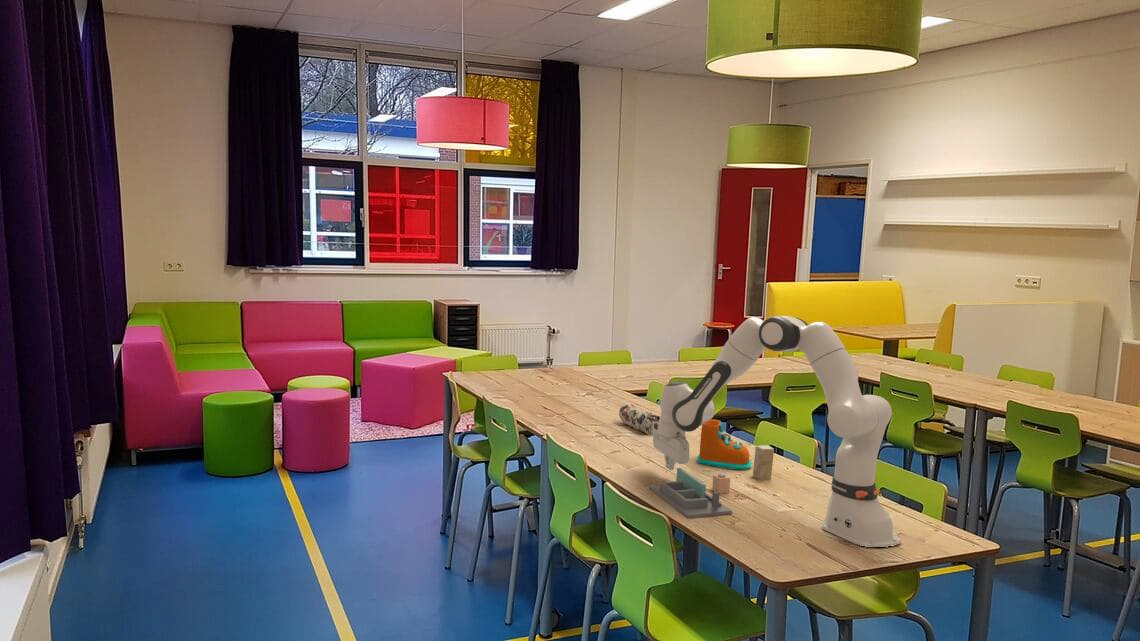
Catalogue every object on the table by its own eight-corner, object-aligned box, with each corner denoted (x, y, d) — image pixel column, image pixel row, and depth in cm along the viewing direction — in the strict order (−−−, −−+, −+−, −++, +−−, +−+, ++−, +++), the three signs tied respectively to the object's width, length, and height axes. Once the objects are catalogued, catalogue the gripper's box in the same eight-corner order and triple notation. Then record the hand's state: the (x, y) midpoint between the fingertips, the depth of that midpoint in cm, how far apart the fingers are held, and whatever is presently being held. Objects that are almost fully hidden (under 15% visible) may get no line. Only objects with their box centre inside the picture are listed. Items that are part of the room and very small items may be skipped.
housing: (731, 514, 236) (733, 495, 235) (687, 518, 230) (689, 499, 230) (690, 485, 260) (691, 468, 259) (649, 488, 255) (650, 471, 254)
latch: (705, 498, 244) (706, 484, 243) (701, 498, 244) (702, 485, 243) (679, 480, 260) (680, 467, 259) (676, 480, 259) (677, 468, 259)
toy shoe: (749, 472, 277) (752, 431, 275) (694, 464, 283) (697, 424, 281) (753, 463, 288) (756, 424, 286) (700, 455, 295) (703, 417, 293)
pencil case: (660, 434, 322) (662, 411, 320) (643, 436, 318) (645, 413, 317) (632, 421, 341) (634, 399, 340) (616, 422, 337) (617, 400, 336)
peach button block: (729, 492, 255) (730, 475, 254) (718, 493, 253) (719, 476, 253) (722, 488, 258) (724, 471, 258) (712, 489, 257) (713, 472, 256)
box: (758, 480, 269) (761, 448, 268) (752, 475, 273) (754, 445, 272) (771, 479, 270) (774, 448, 269) (765, 475, 275) (768, 444, 273)
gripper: (695, 436, 255) (692, 477, 257) (666, 421, 274) (664, 459, 276) (678, 437, 253) (675, 479, 255) (650, 421, 272) (648, 460, 274)
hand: (669, 468), depth 265 cm, fingers closed
